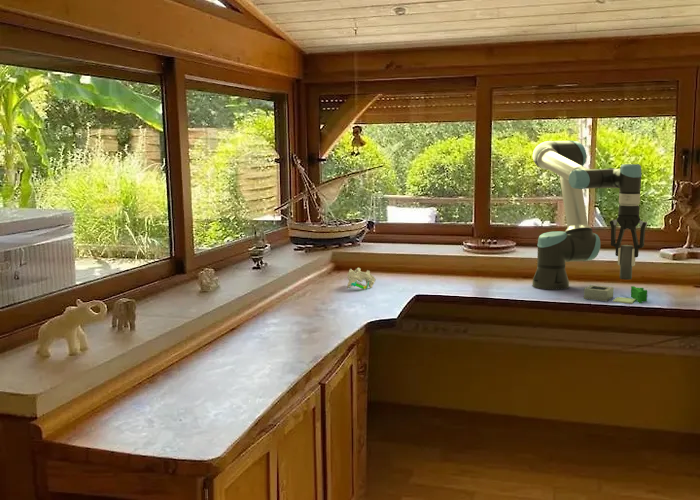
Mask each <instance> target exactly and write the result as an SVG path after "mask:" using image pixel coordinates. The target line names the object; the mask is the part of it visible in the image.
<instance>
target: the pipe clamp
mask: <svg viewBox="0 0 700 500" xmlns="http://www.w3.org/2000/svg"><path fill="white" fill-rule="evenodd" d="M630 289H631V290H630V298H632V299H636V301H635V302H637V303H638V302H639V303H638V304H642V303H643V302H647V301H648V290H647V289H645V288H644V287H636V286H634V285H632V286H630Z"/></svg>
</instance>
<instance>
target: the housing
mask: <svg viewBox="0 0 700 500" xmlns="http://www.w3.org/2000/svg"><path fill="white" fill-rule="evenodd" d="M613 297H614V287H613V286H604V285H602V286H601V285H596V284H595V285H594V284H590V285H588V286H586V287H585V288H584V289H583V299H584V300H590V301H591V300H592V301H600V302H602V301H603V302H608V301H610V300H612V299H613Z"/></svg>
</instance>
